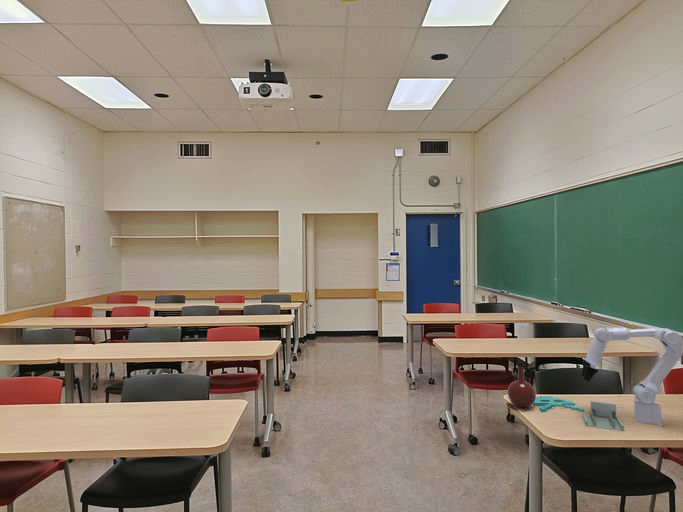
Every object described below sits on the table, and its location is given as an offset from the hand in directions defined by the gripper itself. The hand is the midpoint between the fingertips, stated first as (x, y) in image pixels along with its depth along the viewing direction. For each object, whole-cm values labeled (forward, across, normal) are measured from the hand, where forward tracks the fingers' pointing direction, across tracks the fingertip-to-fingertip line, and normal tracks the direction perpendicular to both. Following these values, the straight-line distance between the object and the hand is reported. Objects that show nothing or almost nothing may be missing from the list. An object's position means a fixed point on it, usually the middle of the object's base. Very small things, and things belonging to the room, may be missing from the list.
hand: (585, 378), depth 187 cm
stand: (+14, 0, +12) cm, 19 cm away
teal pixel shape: (+21, -9, -6) cm, 24 cm away
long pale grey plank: (+13, 0, +12) cm, 18 cm away
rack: (+15, +10, +10) cm, 21 cm away
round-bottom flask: (+26, -1, -20) cm, 33 cm away
